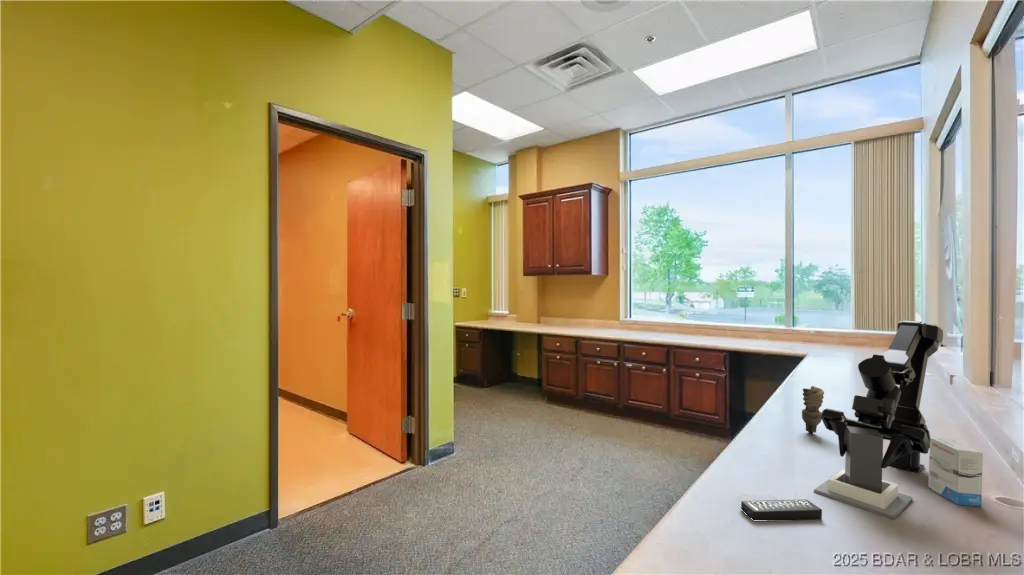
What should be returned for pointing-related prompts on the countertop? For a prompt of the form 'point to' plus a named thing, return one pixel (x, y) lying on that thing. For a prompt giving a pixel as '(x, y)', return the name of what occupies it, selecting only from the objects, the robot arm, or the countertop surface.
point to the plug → (864, 458)
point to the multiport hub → (781, 510)
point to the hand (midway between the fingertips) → (861, 461)
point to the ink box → (955, 471)
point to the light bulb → (812, 408)
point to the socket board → (865, 496)
